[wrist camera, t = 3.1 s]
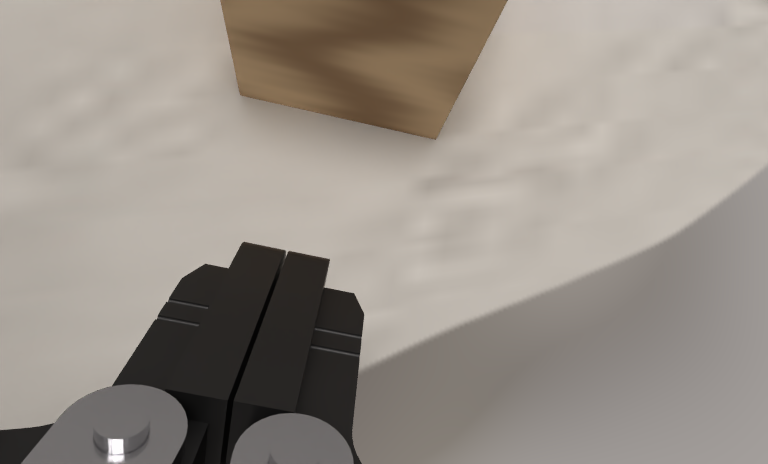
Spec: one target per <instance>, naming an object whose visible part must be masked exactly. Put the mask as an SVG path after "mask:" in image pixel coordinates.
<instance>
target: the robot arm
mask: <svg viewBox="0 0 768 464" xmlns="http://www.w3.org/2000/svg"><path fill="white" fill-rule="evenodd" d="M285 258H286V259H285ZM329 261H330V259H326V258H321V257H316V256H311V255H306V254H302V253H297V252H292V251H289V252H288V254H287V256H286V251H285V250H281V249H276V248H271V247H266V246H262V245H257V244H252V243H247V242H243V243H242V244H241V246H240V248H239V250H238V252H237V254H236V255H235V257H234V259H233V261H232V263H231V265H230V267H229V269H228V268H223V267H218V266H213V265H208V264H204V265H203V266H201V267H199V268H198V269H196V270H195V271H193V272H191V273H190V274H188V275H186V276H185V277H183V278H182V279H181V280H180V282H179V283H178V285H177V287H176V288H175V290H174V291H173V293H172V294H171V296H170V297H169V301H168V302H166V304H165V305H164V307H163V308H162V310H161V311H160V313H159V314H158V318H157V320H156V319H155V321H154V322H153V324H152V325H151V327H150V328H149V330H148V331H147V333H146V334H145V336H144V337H143V339H142V341H141V342H140V344H139V345H138V347H137V348H136V350H135V351H134V353H133V354H132V356H131V358H130V359H129V361H128V362H127V364H126V365H125V367H124V368H123V370H122V371H121V373H120V374H119V376H118V378H117V379H116V381H115V382H114V384H113V385H112V387H107V388H104V389H101V390H97V391H95V392H93V393H90V394H88V395H86V396H85V397H83V398H81V399H79V400H78V401H76V402H75V403H74V404H72V405H71V406H70V407H69V408H68V409H67V410H66V411H65V412H64V413H63V414H62V415H61V416H60V417H59V418H58V420H57V421H56V422H55V423H53V424H49V425H44V426H39V427H32V428H23V429H11V430H0V464H362V463H361V462H360V460H359V458H358V456H357V454H356V451H355V449H354V445H353V440H352V426H353V417H354V406H355V397H356V388H357V378H358V368H359V359H360V358H359V356H360V349H361V337H362V330H363V320H364V313H363V311H362V309H361V307H360V305H359V303H358V300H357V298H356V296H355V294H354V293H349V292H344V291H339V290H334V289H329V288H324V286H325V282H326V277H327V272H328V267H329Z"/></svg>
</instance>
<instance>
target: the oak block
mask: <svg viewBox="0 0 768 464" xmlns="http://www.w3.org/2000/svg"><path fill="white" fill-rule="evenodd" d="M220 1H221V5H222V10H223V15H224V20H225V25H226V29H227V34H228V39H229V44H230V49H231V53H232V58H233V63H234V68H235V72H236V77H237V82H238V87H239V92H240V95H242V96H246V97H250V98H255V99H259V100H264V101H268V102H272V103H277V104H281V105H286V106H290V107H295V108H299V109H303V110H308V111H312V112H317V113H321V114H325V115H330V116H334V117H339V118H343V119H347V120H352V121H356V122H361V123H365V124H369V125H374V126H378V127H383V128H387V129H391V130H396V131H400V132H405V133H409V134H413V135H418V136H422V137H427V138H431V139H435V140H436V138H437V136H438V134H439V132H440V130H441V128H442V126H443V124H444V123H445V121H446V119H447V117H448V115H449V113H450V111H451V109H452V107H453V105H454V103H455V101H456V99H457V97H458V95H459V93H460V92H461V90H462V88H463V86H464V84H465V82H466V80H467V78H468V76H469V74H470V72H471V70H472V68H473V66H474V64H475V63H476V61H477V59H478V57H479V55H480V53H481V51H482V49H483V47H484V45H485V43H486V41H487V39H488V37H489V35H490V34H491V32H492V30H493V28H494V26H495V24H496V22H497V20H498V18H499V16H500V14H501V12H502V10H503V8H504V6H505V5H506V3H507V1H508V0H220Z"/></svg>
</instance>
